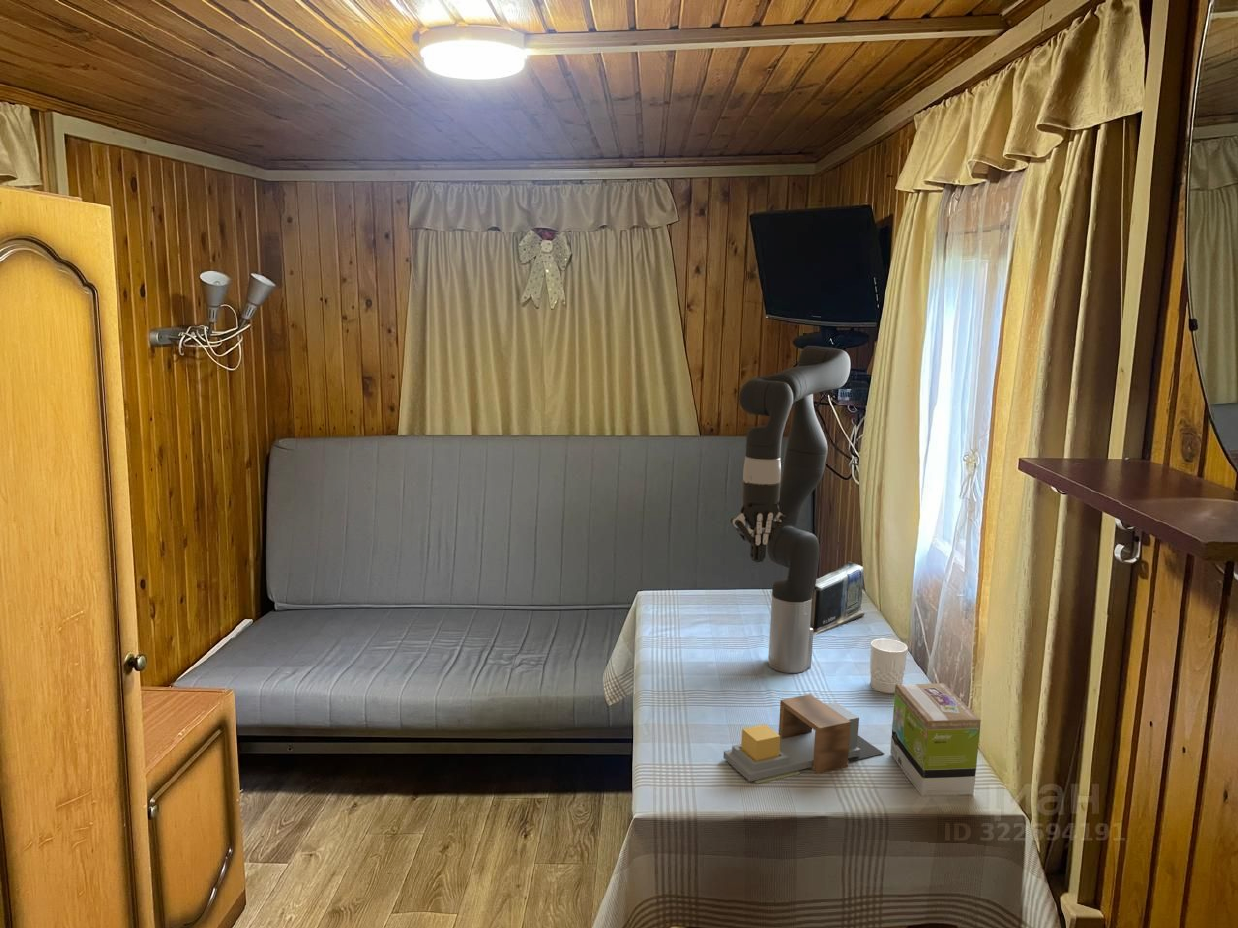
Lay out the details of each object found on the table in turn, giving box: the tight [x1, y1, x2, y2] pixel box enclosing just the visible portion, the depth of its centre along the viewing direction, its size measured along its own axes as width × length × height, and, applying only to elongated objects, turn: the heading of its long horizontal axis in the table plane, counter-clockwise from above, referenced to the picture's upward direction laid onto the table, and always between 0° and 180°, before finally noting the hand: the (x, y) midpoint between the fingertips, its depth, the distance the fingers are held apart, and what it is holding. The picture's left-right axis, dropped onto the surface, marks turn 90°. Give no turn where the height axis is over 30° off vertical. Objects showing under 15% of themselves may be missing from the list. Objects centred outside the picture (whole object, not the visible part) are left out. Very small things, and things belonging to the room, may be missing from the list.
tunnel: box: [778, 694, 851, 775], centre depth 168 cm, size 7×12×9 cm, turn 24°
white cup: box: [869, 638, 909, 694], centre depth 198 cm, size 8×8×10 cm
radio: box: [810, 561, 865, 636], centre depth 238 cm, size 23×9×15 cm, turn 126°
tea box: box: [889, 682, 982, 797], centre depth 161 cm, size 15×10×15 cm, turn 5°
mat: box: [753, 770, 800, 785], centre depth 164 cm, size 9×10×1 cm
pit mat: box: [848, 735, 885, 763], centre depth 172 cm, size 8×10×1 cm
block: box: [740, 723, 780, 762], centre depth 163 cm, size 5×5×5 cm
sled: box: [722, 701, 860, 782], centre depth 166 cm, size 24×9×7 cm, turn 114°
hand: (757, 561), depth 182 cm, fingers closed
